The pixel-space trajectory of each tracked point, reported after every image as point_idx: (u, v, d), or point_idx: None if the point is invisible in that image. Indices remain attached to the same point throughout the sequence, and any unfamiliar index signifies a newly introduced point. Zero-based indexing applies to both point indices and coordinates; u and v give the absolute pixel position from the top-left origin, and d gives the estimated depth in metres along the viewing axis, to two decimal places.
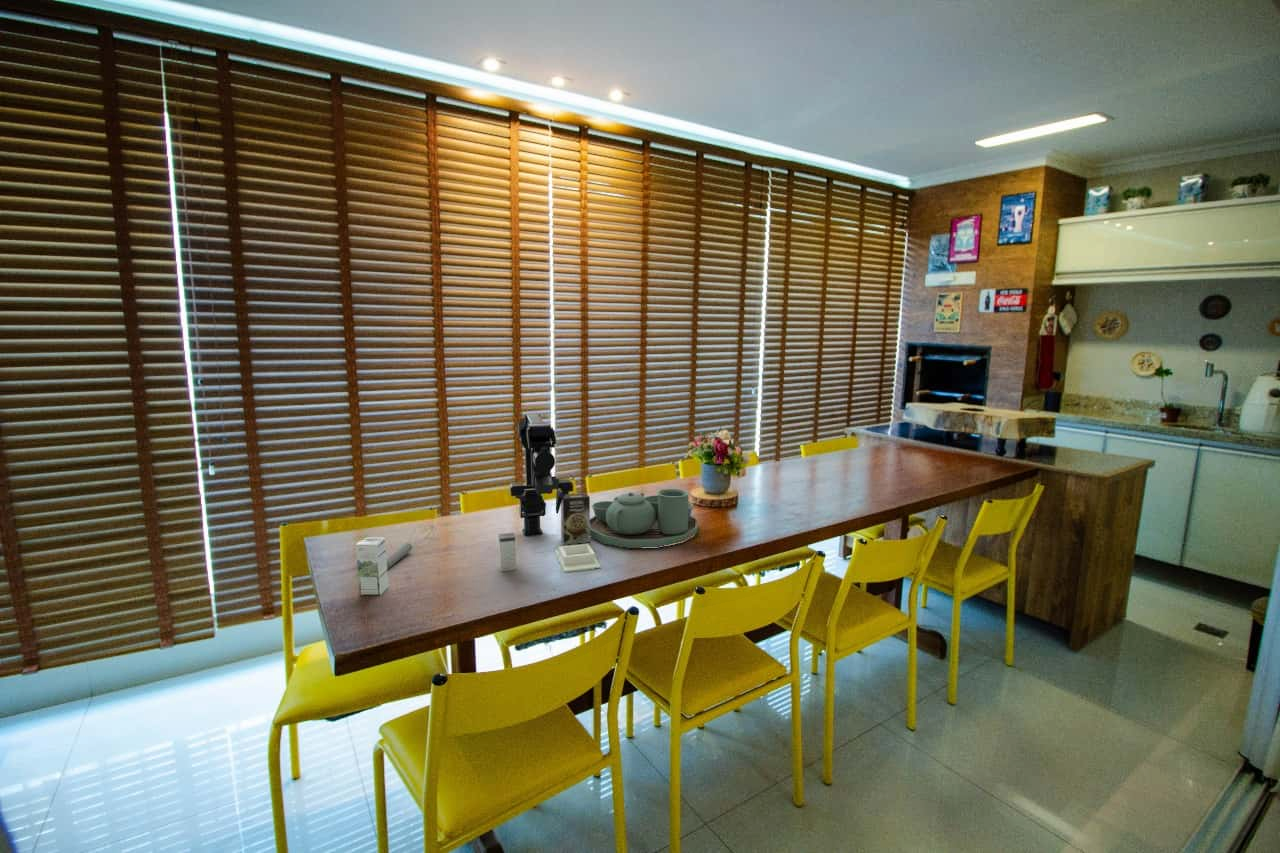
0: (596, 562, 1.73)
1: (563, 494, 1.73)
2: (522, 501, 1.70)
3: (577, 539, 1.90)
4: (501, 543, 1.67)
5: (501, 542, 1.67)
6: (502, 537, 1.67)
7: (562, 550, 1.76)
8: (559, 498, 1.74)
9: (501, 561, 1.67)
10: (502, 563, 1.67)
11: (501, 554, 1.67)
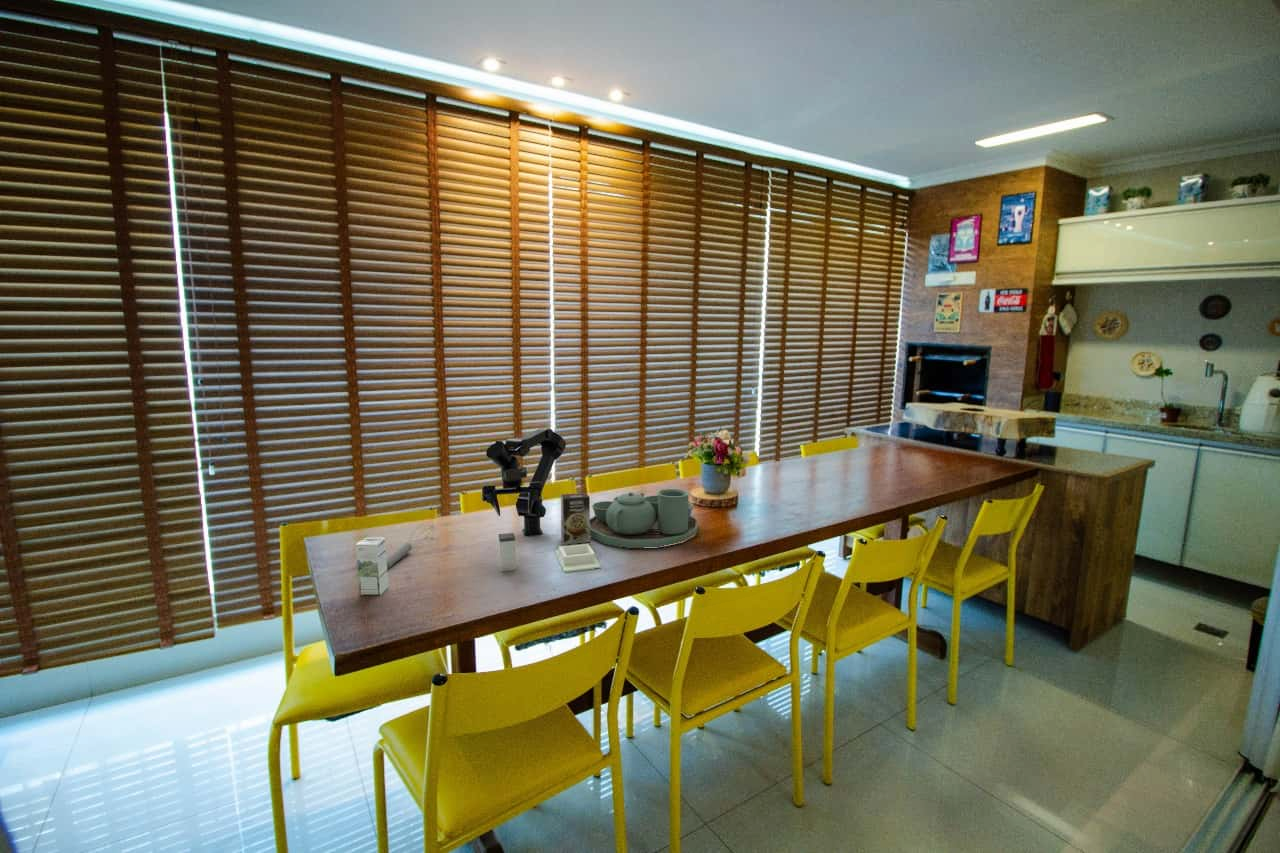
0: (596, 562, 1.73)
1: (533, 490, 1.81)
2: (494, 499, 1.77)
3: (577, 539, 1.90)
4: (501, 543, 1.67)
5: (501, 542, 1.67)
6: (502, 537, 1.67)
7: (562, 550, 1.76)
8: (530, 496, 1.80)
9: (501, 561, 1.67)
10: (502, 563, 1.67)
11: (501, 554, 1.67)
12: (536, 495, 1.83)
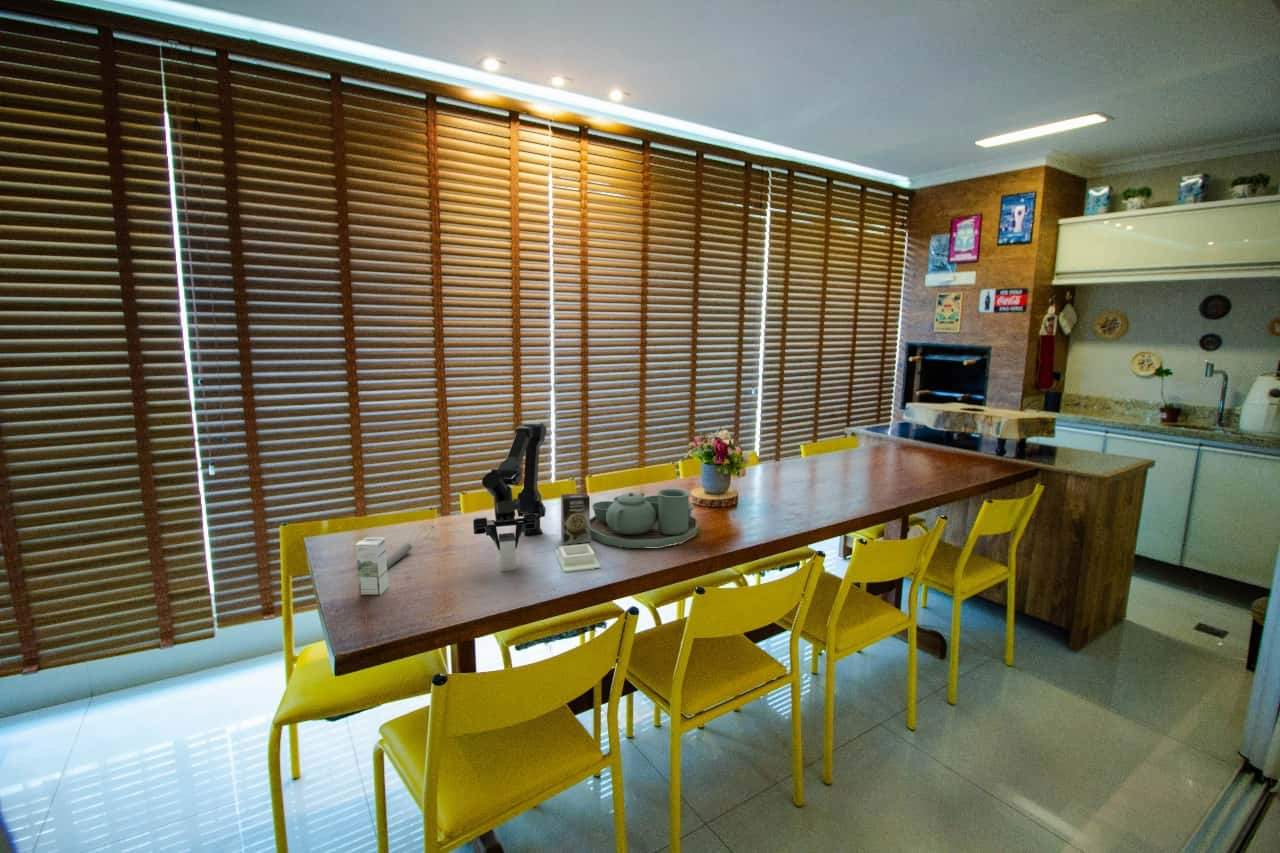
0: (596, 562, 1.73)
1: (520, 523, 1.70)
2: (493, 532, 1.68)
3: (577, 539, 1.90)
4: (501, 543, 1.67)
5: (501, 542, 1.66)
6: (502, 537, 1.67)
7: (562, 550, 1.76)
8: (516, 530, 1.70)
9: (501, 561, 1.67)
10: (502, 563, 1.67)
11: (501, 554, 1.67)
12: (523, 528, 1.73)
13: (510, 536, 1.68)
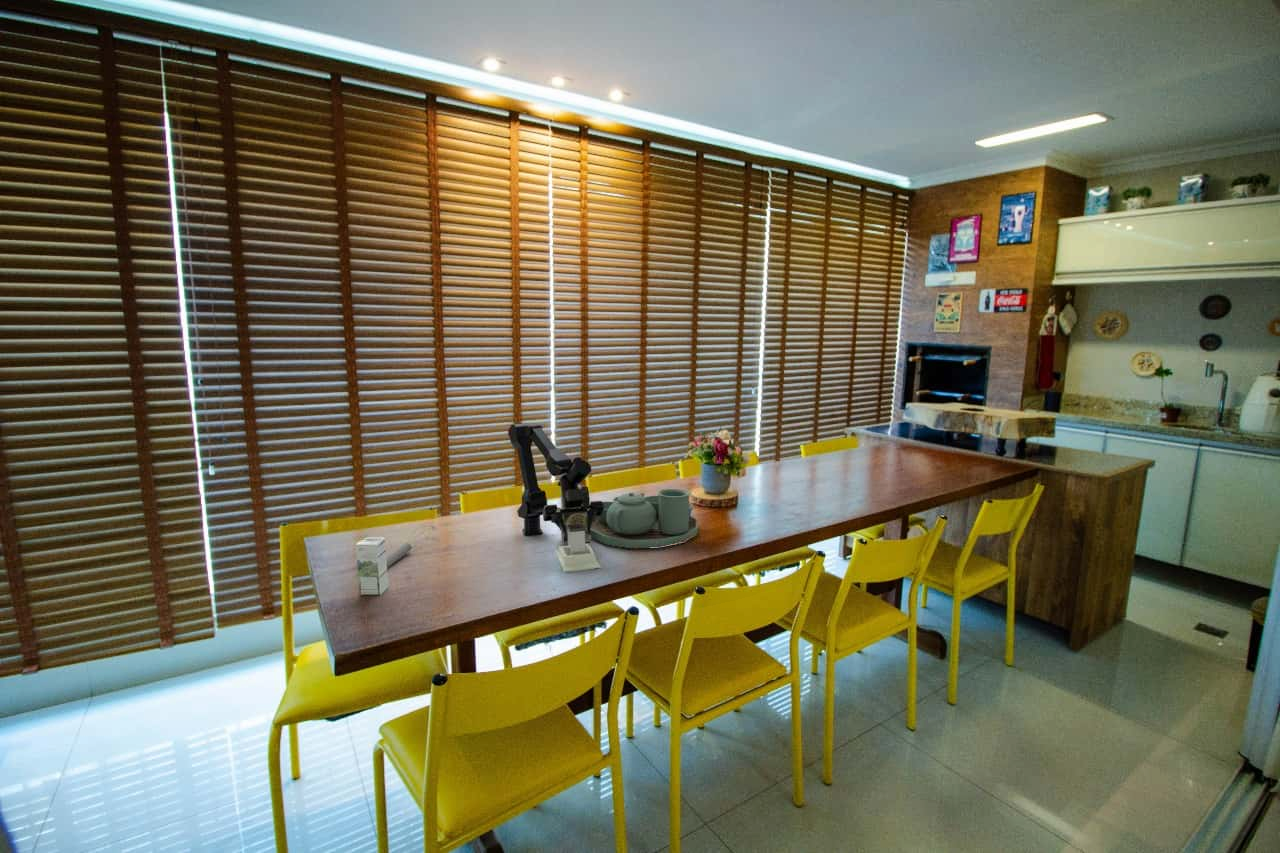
0: (596, 562, 1.73)
1: (592, 510, 1.77)
2: (559, 519, 1.74)
3: None
4: (571, 533, 1.73)
5: (572, 532, 1.73)
6: (572, 527, 1.74)
7: (562, 550, 1.76)
8: (589, 517, 1.76)
9: (571, 551, 1.73)
10: (573, 552, 1.74)
11: (571, 544, 1.73)
12: (594, 515, 1.79)
13: (579, 527, 1.75)
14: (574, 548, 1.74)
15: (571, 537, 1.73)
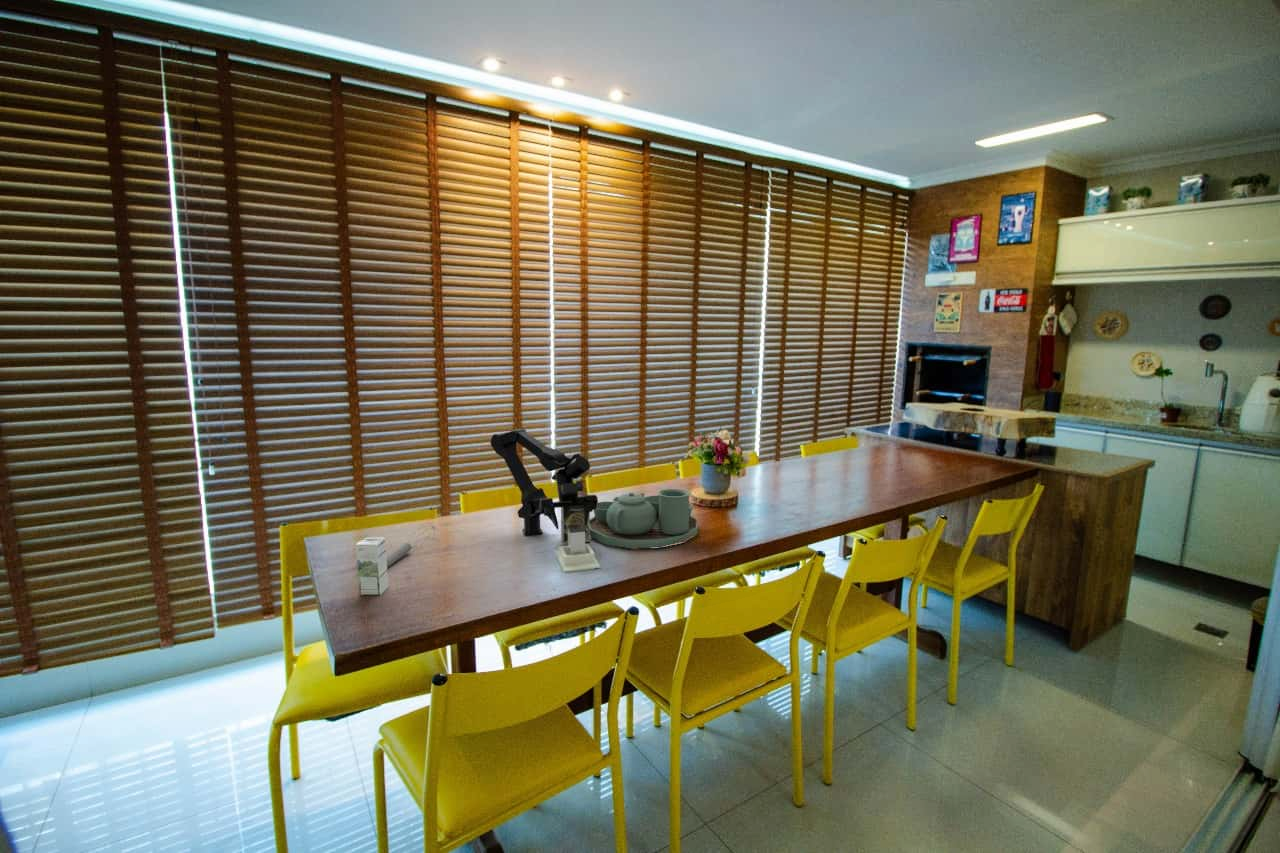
0: (596, 562, 1.73)
1: (589, 503, 1.85)
2: (552, 512, 1.81)
3: None
4: (572, 534, 1.73)
5: (572, 533, 1.73)
6: (572, 528, 1.73)
7: (562, 550, 1.76)
8: (586, 509, 1.84)
9: (571, 551, 1.73)
10: (573, 553, 1.73)
11: (572, 545, 1.73)
12: (591, 508, 1.87)
13: (580, 527, 1.74)
14: (574, 549, 1.73)
15: (571, 538, 1.73)
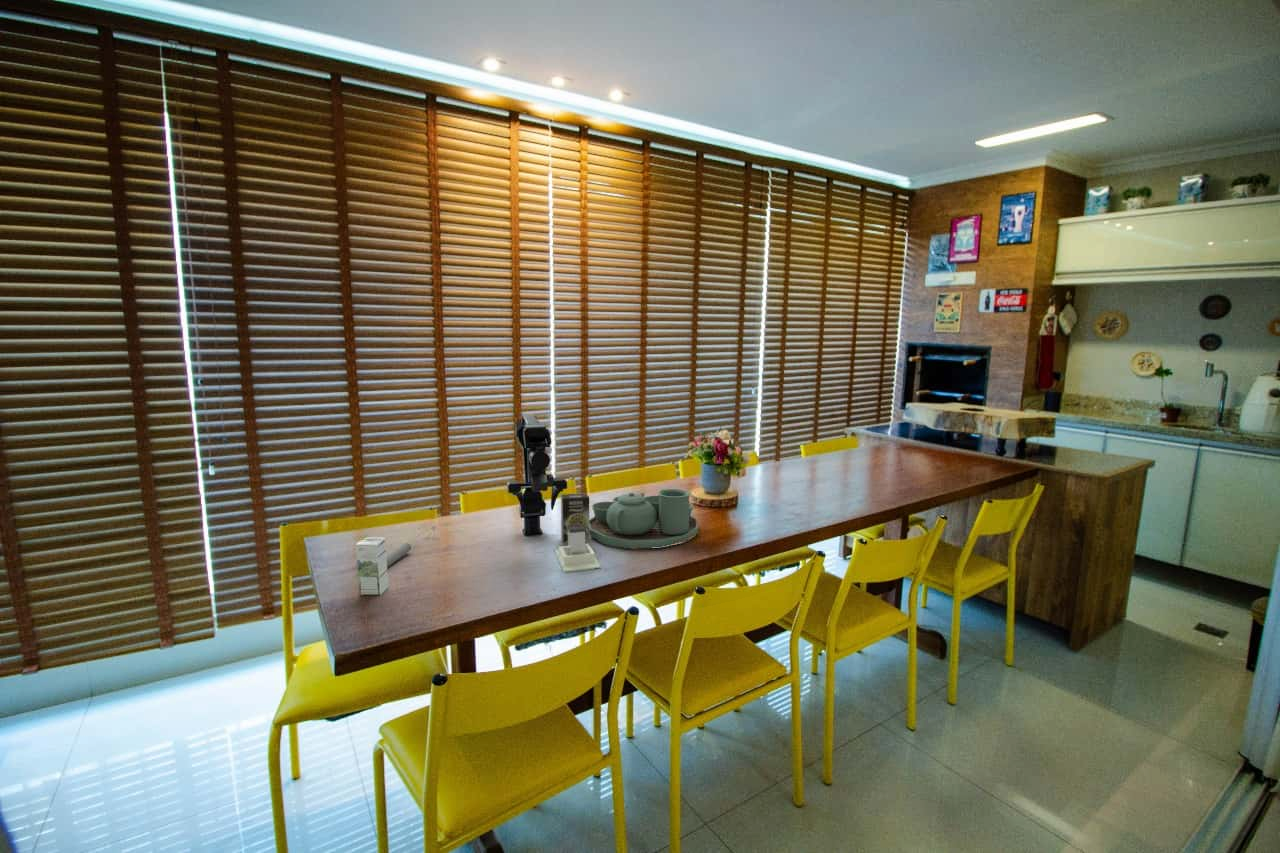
0: (596, 562, 1.73)
1: (558, 491, 1.83)
2: (519, 498, 1.80)
3: None
4: (572, 534, 1.73)
5: (572, 533, 1.73)
6: (572, 528, 1.73)
7: (562, 550, 1.76)
8: (554, 495, 1.84)
9: (571, 551, 1.73)
10: (573, 553, 1.73)
11: (572, 545, 1.73)
12: None
13: (580, 527, 1.74)
14: (574, 549, 1.73)
15: (571, 538, 1.73)
